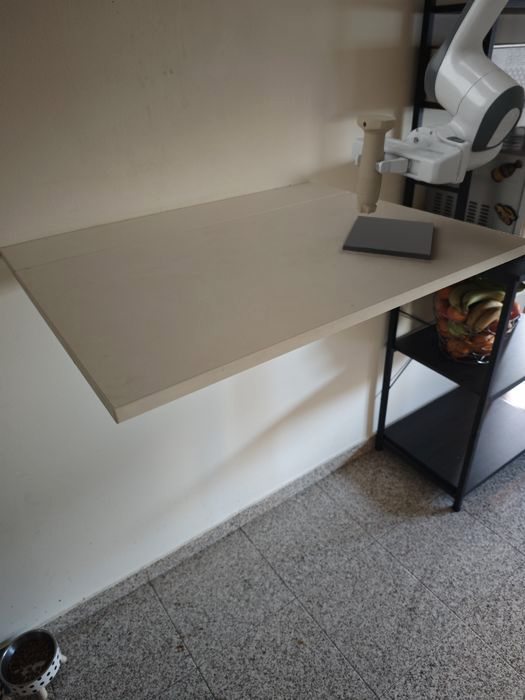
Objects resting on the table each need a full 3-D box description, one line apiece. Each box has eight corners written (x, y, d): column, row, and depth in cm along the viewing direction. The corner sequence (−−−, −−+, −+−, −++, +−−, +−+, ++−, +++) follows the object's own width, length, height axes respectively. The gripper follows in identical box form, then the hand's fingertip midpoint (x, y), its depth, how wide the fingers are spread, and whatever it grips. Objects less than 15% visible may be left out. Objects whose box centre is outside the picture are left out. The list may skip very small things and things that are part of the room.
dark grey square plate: (433, 227, 106) (433, 222, 105) (429, 259, 91) (430, 254, 91) (357, 219, 110) (358, 215, 109) (342, 249, 95) (343, 245, 95)
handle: (364, 204, 90) (373, 113, 81) (389, 213, 85) (402, 118, 77) (343, 209, 88) (351, 115, 79) (368, 219, 83) (379, 121, 75)
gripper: (387, 125, 93) (329, 133, 87) (479, 144, 79) (417, 156, 73) (383, 160, 97) (327, 170, 91) (470, 185, 82) (410, 199, 76)
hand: (367, 164), depth 81 cm, fingers closed on handle, 3 cm apart
